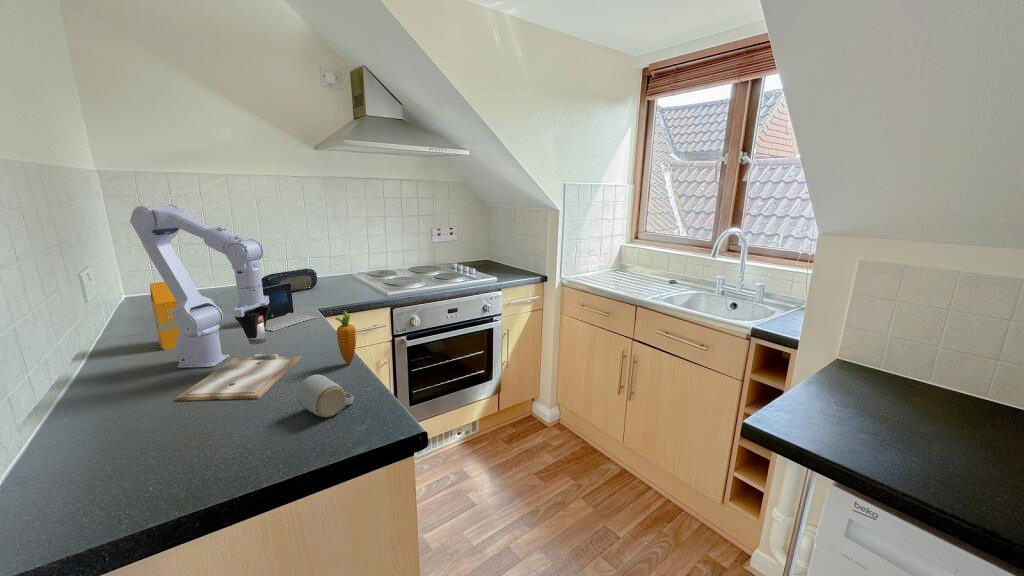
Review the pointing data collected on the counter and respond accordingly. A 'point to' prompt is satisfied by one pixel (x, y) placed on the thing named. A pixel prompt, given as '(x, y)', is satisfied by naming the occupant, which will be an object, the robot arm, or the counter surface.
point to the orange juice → (164, 314)
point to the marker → (259, 332)
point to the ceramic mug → (322, 396)
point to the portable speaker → (292, 279)
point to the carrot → (346, 338)
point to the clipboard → (241, 378)
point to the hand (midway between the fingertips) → (256, 335)
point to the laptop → (281, 307)
